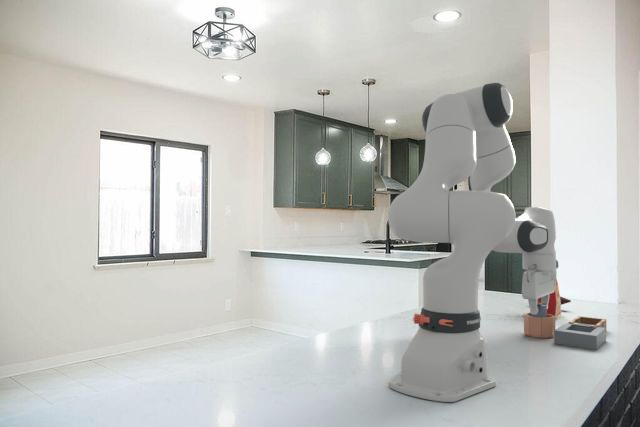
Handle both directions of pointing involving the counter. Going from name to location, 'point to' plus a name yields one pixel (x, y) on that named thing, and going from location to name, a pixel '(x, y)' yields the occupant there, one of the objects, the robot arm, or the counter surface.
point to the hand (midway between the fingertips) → (539, 311)
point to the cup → (539, 326)
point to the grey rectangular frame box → (580, 335)
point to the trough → (589, 321)
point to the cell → (541, 310)
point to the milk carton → (554, 303)
